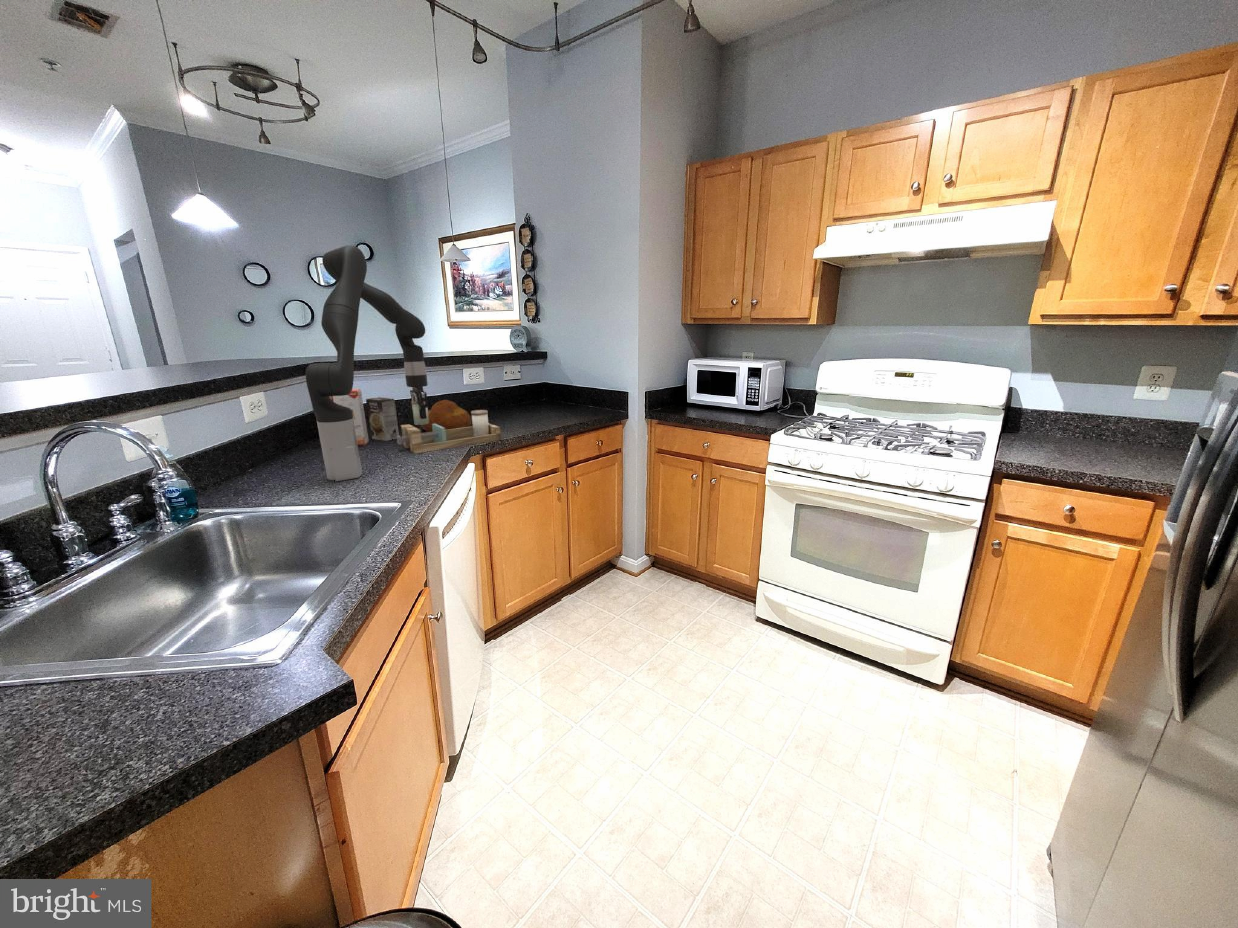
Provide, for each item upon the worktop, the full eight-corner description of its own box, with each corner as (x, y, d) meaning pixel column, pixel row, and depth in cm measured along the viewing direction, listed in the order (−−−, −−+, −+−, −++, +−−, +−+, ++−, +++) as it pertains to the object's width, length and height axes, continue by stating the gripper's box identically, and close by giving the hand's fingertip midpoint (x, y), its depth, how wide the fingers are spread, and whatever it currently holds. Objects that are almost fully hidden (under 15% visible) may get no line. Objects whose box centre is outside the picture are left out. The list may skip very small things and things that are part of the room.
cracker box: (324, 448, 179) (314, 391, 173) (329, 444, 185) (319, 389, 179) (366, 445, 182) (357, 390, 177) (369, 441, 188) (360, 388, 182)
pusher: (447, 446, 177) (444, 428, 175) (403, 453, 168) (400, 433, 166) (437, 441, 186) (435, 423, 184) (395, 447, 177) (392, 428, 175)
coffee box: (371, 439, 193) (364, 399, 188) (385, 435, 198) (379, 396, 194) (386, 441, 188) (380, 400, 184) (400, 438, 194) (394, 398, 189)
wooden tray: (501, 439, 188) (499, 419, 186) (414, 453, 169) (411, 431, 167) (486, 433, 199) (484, 414, 197) (403, 446, 180) (400, 425, 178)
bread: (410, 437, 196) (406, 407, 192) (434, 422, 227) (431, 396, 224) (462, 435, 197) (459, 405, 194) (479, 421, 229) (476, 395, 225)
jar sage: (431, 423, 187) (428, 401, 185) (416, 425, 184) (413, 402, 181) (427, 421, 191) (424, 399, 189) (412, 423, 188) (409, 401, 186)
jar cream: (492, 438, 190) (490, 411, 187) (477, 441, 187) (474, 413, 184) (486, 436, 195) (483, 409, 192) (471, 438, 191) (468, 411, 188)
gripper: (431, 374, 179) (436, 419, 184) (420, 372, 190) (425, 414, 195) (410, 375, 175) (416, 421, 179) (400, 373, 186) (406, 416, 190)
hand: (421, 417), depth 187 cm, fingers closed on jar sage, 5 cm apart
